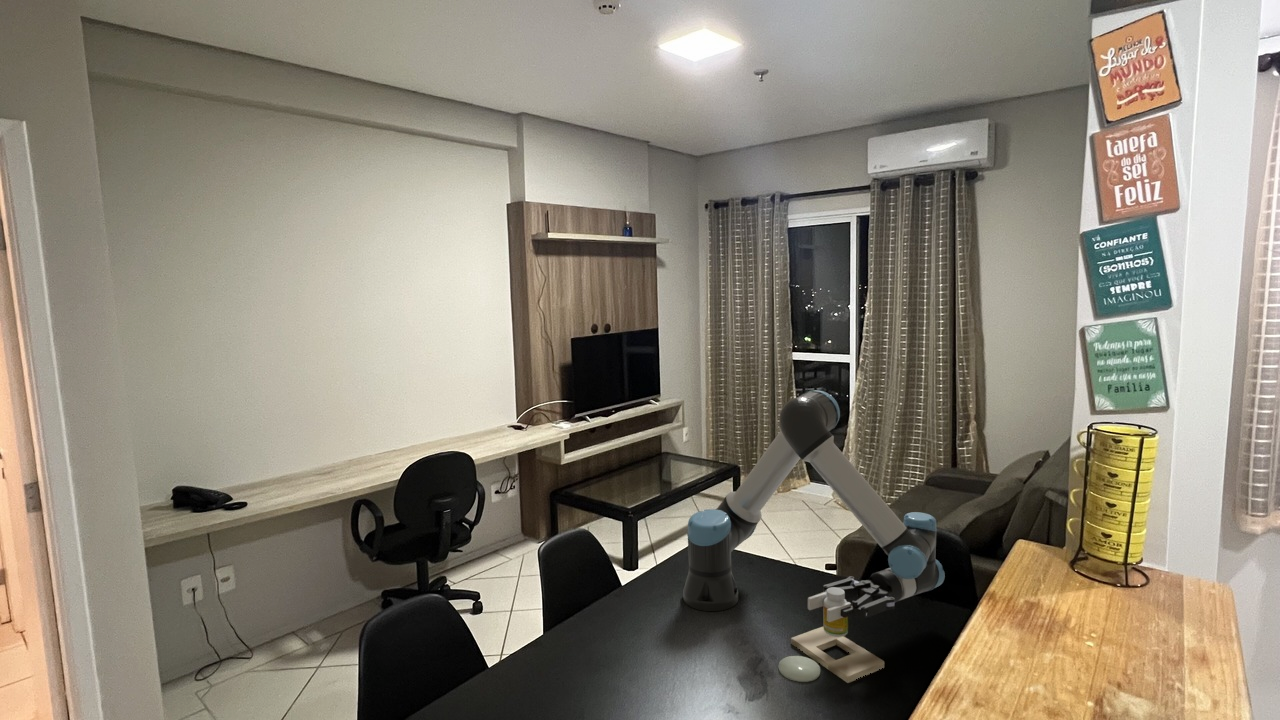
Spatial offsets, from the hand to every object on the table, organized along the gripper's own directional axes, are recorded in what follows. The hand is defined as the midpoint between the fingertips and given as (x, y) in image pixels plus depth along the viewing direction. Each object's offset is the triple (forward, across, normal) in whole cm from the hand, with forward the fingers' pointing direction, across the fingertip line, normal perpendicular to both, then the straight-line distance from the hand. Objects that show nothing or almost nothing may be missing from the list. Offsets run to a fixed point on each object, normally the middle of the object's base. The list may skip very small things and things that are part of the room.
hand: (818, 609), depth 144 cm
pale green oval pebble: (+6, 0, -12) cm, 14 cm away
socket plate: (-5, 0, -12) cm, 13 cm away
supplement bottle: (-5, 0, -7) cm, 9 cm away
